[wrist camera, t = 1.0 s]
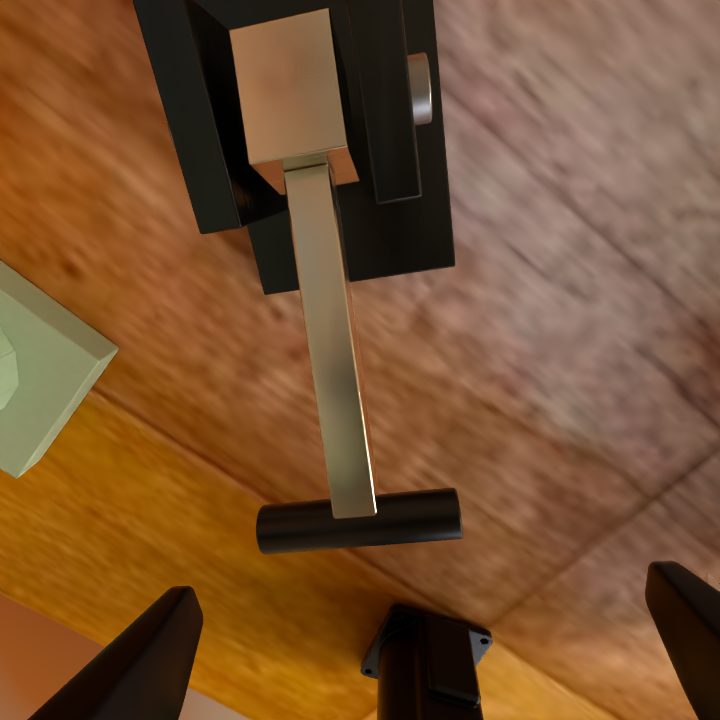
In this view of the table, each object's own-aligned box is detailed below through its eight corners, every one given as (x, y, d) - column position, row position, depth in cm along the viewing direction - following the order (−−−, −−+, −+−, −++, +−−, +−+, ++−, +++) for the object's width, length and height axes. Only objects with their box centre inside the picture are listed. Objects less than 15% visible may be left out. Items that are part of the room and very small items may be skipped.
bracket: (451, 261, 19) (502, 333, 11) (271, 288, 20) (182, 376, 11) (423, -67, 15) (467, -385, 6) (197, -13, 16) (-25, -226, 7)
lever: (457, 515, 12) (468, 562, 10) (280, 530, 13) (250, 578, 10) (399, 60, 11) (397, -10, 9) (213, 98, 12) (165, 43, 10)
